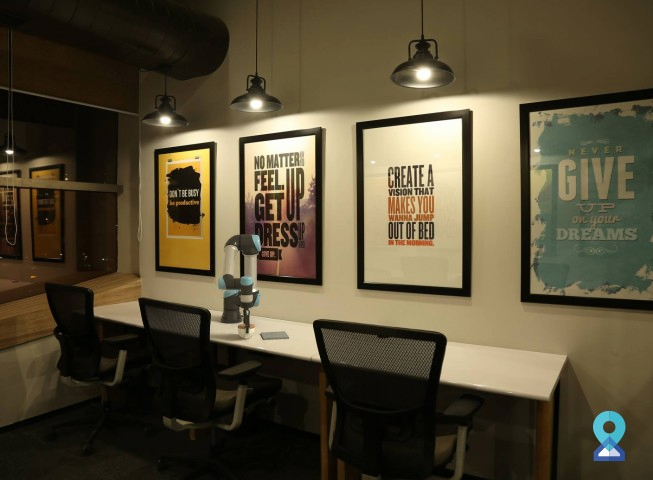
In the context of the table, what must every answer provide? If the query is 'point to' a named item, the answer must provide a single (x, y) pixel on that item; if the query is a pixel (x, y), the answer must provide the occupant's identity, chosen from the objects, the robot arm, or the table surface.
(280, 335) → the slate mat
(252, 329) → the lidded jar
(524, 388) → the table surface
